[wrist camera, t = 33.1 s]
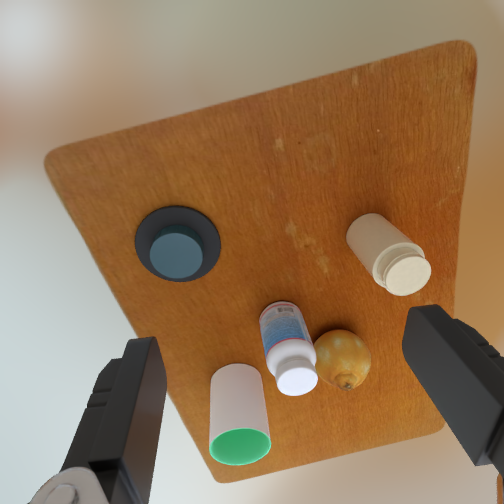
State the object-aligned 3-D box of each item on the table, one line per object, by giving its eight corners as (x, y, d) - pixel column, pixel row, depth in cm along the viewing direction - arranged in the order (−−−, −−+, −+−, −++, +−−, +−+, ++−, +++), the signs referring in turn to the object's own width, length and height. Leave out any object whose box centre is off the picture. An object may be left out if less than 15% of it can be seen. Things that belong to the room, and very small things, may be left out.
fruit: (297, 374, 49) (339, 412, 43) (304, 329, 46) (351, 363, 40) (333, 354, 53) (375, 386, 48) (342, 312, 50) (388, 340, 44)
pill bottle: (250, 324, 46) (259, 391, 37) (274, 293, 44) (291, 355, 34) (285, 338, 48) (302, 406, 38) (309, 309, 46) (334, 373, 36)
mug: (272, 406, 55) (283, 471, 46) (226, 418, 56) (228, 484, 47) (254, 357, 50) (262, 421, 40) (203, 371, 50) (200, 437, 41)
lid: (154, 268, 40) (150, 278, 38) (151, 222, 37) (147, 231, 35) (203, 269, 41) (202, 279, 39) (204, 225, 38) (203, 233, 36)
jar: (347, 215, 40) (384, 255, 31) (392, 211, 40) (441, 249, 31) (344, 255, 42) (377, 302, 34) (386, 251, 43) (430, 296, 34)
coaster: (126, 210, 37) (125, 212, 36) (215, 201, 37) (215, 203, 37) (146, 283, 42) (145, 286, 41) (224, 275, 42) (224, 277, 42)
